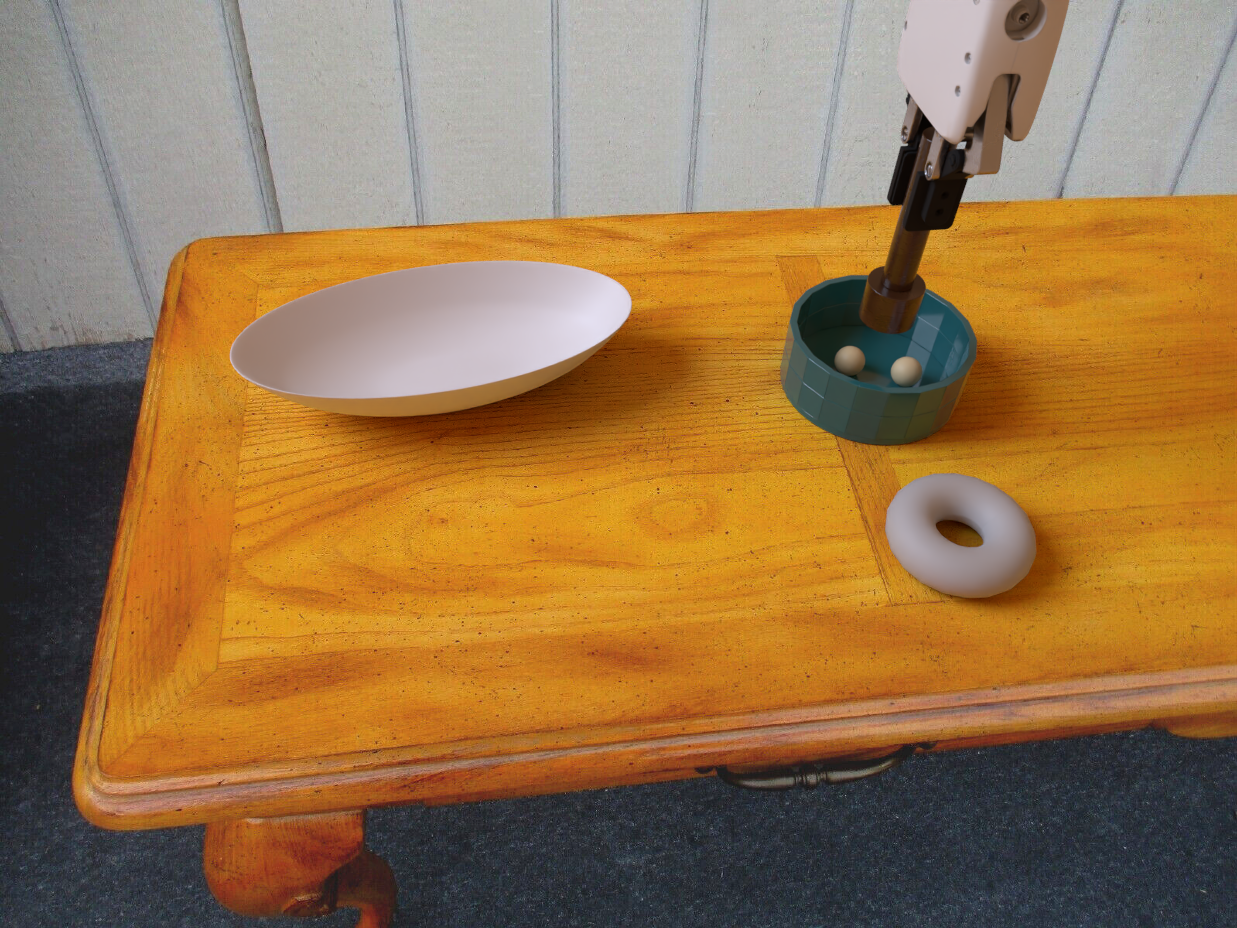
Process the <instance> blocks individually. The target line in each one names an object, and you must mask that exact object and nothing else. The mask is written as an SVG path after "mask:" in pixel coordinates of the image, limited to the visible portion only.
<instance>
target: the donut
mask: <svg viewBox="0 0 1237 928" xmlns="http://www.w3.org/2000/svg"><path fill="white" fill-rule="evenodd" d="M942 521H954V522H959V523H962V524H964V525H966V526H969V527H970V528H972V530H974V531H976V533H977V534H978V535H979V537H980V538H981V539H982V544H981V545H979V546H964V545H959V544H956V543H955V542H953V541H950V540H949V539H948V538H946V537H945V536H943V535H942V533H941V532H940V531H939V529H938V528H937V526H936V525H937V524H938V523H939V522H942ZM884 532H885V535H886V538H887V542H888V545H889V548H890V551H891V553H892V555H893V556H894V557H895V558H896V560H897V561H898V562H899V564H900V565H901V567H902V568H903V569H904V570H905V571H906V572H907V573H908V574H910V576H912V577H913V578H915V579H916V580H917V581H919V582H920V583H921V584H923V585H925V586H926V587H929V588H931V589H933V590H935V591H937V592H940V593H942V594H944V595H945V594H946V595H950V596H955V597H959V598H963V599H977V598H978V599H980V598H982V599H983V598H989V597H994V596H996V595H998V594H1002V593H1005V592H1008V591H1010V590H1012V589H1013V588H1014V587H1015V586H1016V585H1018V584H1019V583H1020V582H1021V581H1023V579H1025V578H1026V577H1027V576H1028V575H1029V573H1030V570H1031V568H1032V566H1033V564H1034V561H1035V559H1036V555H1037V536H1036V532H1035V529H1034V527H1033V524H1032V522H1031V520H1030V518H1029V516H1028V513H1027V512H1026V511H1025V510H1024V509H1023V508H1022V507H1021V505H1019V503H1018V502H1017V501H1016V500H1015V499H1014V497H1012V496H1010V495H1009V494H1008V493H1007V492H1005V491H1004V490H1002V489H1000V488H999V487H998V486H997V485H994V484H992V483H990V482H988V481H985V480H983V479H981V478H979V477H975V476H970V475H964V474H961V473H955V472H947V473H932V474H928V475H924V476H921V477H918V478H915V479H913V480H912V481H910V482H909V483H907V484H906V485H904V486H903V487H902V488H901V489H899V490H898V491H896V494H895V495H894V497H893V499H892V500H891V502H890V504H889V506H888V507H887V509H886V517H885V528H884Z"/></svg>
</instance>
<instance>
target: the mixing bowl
mask: <svg viewBox="0 0 1237 928" xmlns="http://www.w3.org/2000/svg"><path fill="white" fill-rule="evenodd" d="M868 275H869V274H849V275H843V276H840V277H834V278H830V279H826V280H823V281H821V282H820V283H818V284H816V285H813V286H812V287H809V288H808V289H807V290H805V291H804V292H803V293H802V294H801V296H800V297H799V298H798V299H797V300H796V301H795V302H794V304H793V306H792V309H791V312H790V313H791V314H790V316H789V317H790V318H789V322H788V327H787V332H786V337H785V340H784V345H783V350H782V351H783V352H782V356H781V361H780V367H779V369H780V371H779V376H780V377H779V378H780V383H781V387H782V390H783V392H784V394H785V396H786V398H787V399H788V401H789V402H790V404H791V405H792V406H793V407H794V409H795V410H796V411H797V412H798V413H799V414H800V415H801V416H803V417H804V418H805V419H806V420H807V421H809V422H810V423H811V424H813V425H814V426H816V427H817V428H819V429H822V430H823V431H825V432H828V433H830V434H832V435H834V436H836V437H839V438H843V439H844V440H848V441H852V442H857V443H861V444H868V445H876V446H898V445H904V444H910V443H914V442H918V441H920V440H923V439H925V438H929V437H930V436H932V435H934V434H936V433H937V432H939V431H940V430H941V429H943V428H944V426H946V424H948V422H950V420H951V418H952V416H953V414H954V412H955V411H956V409H957V408H958V407H957V406H959V402H960V401H961V397H962V395H963V393H964V391H965V388H966V385H967V383H968V380H969V378H970V376H971V373H972V370H973V368H974V365H975V364H976V363H975V362H976V360H977V354H978V338H977V336H976V334H975V332H974V330H973V327H972V325H971V322H970V321H969V320H968V318H967V317H966V316H965V315H964V314H963V313H962V312H961V311H960V310H959V309H958V308H957V306H955V305H954V304H953V303H952V302H950V301H949V300H947V299H946V298H944V297H942V296H941V295H940V294H938V293H936V292H935V291H934V290H933V291H932V290H931V289H929V288H926V291H925V294H924V297H923V300H922V303H921V306H920V309H919V312H918V315H917V318H916V321H915V324H914V326H913V327H912V328H911V329H910V330H908V331H906V332H904V333H900V334H886V333H881V332H878V331H875V330H873V329H871V328H869V327H868V326H867V325H865V324H864V323H863V321H862V320H861V319H860V316H859V308H860V304H861V301H862V297H863V293H864V290H865V286H866V282H867V279H868ZM846 346H855V347H857V348H859V349H860V350H861V351H862V352H863V354H864V356H865V365H864V367H863V369H862V370H861V371H860V372H859V373H858V374H856V375H853V376H846V375H844V374H841V373H840V372H839V371H838V370H837V369H836V366H835V356H836V354H837V352H838V351H839V350H840V349H842V348H843V347H846ZM902 357H912V358H914V359H916V360H917V361H918V362H919V363H920V365H921V367H922V376H921V378H920V380H919V381H918V382H917V383H916V384H915V385H913V386H909V387H903V386H900V385H898V384H896V383H895V382H894V381H893V379H892V377H891V368H892V365H893V364H894V362H895V361H896V360H898V359H899V358H902Z"/></svg>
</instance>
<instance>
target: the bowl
mask: <svg viewBox="0 0 1237 928" xmlns="http://www.w3.org/2000/svg"><path fill="white" fill-rule="evenodd" d="M632 308H633V300H632V297H631V294H630V293H629V291H628V289H627V288H625V286H624V285H622V284H621V283H620V282H618V281H616V280H615V279H613V278H611V277H610V276H607V275H606V274H603V273H600V272H598V271H595V270H590V269H587V268H583V267H579V266H574V265H568V264H562V263H556V262H545V261H535V260H534V261H533V260H532V261H531V260H478V261H477V260H476V261H463V262H453V263H452V262H451V263H450V262H449V263H441V264H433V265H425V266H418V267H411V268H405V269H399V270H393V271H388V272H383V273H378V274H374V275H369V276H365V277H361V278H358V279H353V280H350V281H346V282H343V283H339V284H335V285H333V286H332V285H331V286H329V287H326V288H323V289H320V290H317V291H314V292H310V293H309V294H306V295H303V296H300V297H298V298H296V299H293V300H290V301H288V302H286V303H285V304H282V305H280V306H278V307H276V308H274V309H271V310H270V311H269V312H267V313H265V314H263V315H261V316H260V317H259V318H257V319H256V320H254V321H252V323H249V325H247V326H246V327H245V328H244V329H243V330H242V331H241V332H240V333H239V335H237V337H236V338H235V340H234V341H233V342H232V344H231V347H230V351H229V360H230V363H231V365H232V367H233V369H234V370H235V371H236V372H237V373H238V374H239V376H240V377H242V378H243V379H245V381H248V382H249V383H251V384H252V385H255V386H256V387H258V388H260V389H262V390H264V391H266V392H268V393H270V394H272V395H275V396H277V397H279V398H282V399H283V400H286V401H289V402H292V403H295V404H298V405H301V406H304V407H306V408H311V409H314V410H319V411H321V412H322V411H323V412H329V413H333V414H339V415H349V416H360V417H382V418H383V417H387V418H389V417H395V418H396V417H414V416H415V417H416V416H430V415H439V414H447V413H453V412H454V413H455V412H459V411H460V412H461V411H464V410H469V409H473V408H477V407H482V406H486V405H489V404H493V403H497V402H500V401H503V400H506V399H509V398H513V397H517V396H518V395H521V394H524V393H526V392H529V391H531V390H534V389H537V388H539V387H541V386H544V385H546V384H549V383H551V382H553V381H555V380H556V379H559V378H560V377H562V376H564V375H566V374H568V373H569V372H572V371H573V370H575V369H576V368H577V367H578V366H580V365H582V364H583V363H584V362H586V361H587V360H588V359H589V358H591V357H592V356H593V355H594V354H596V353H598V351H599V350H600V349H602V347H605V345H606V344H607V343H608V342H609V341H610V340H611V339H612V338H613V337H614V336H615V335H616V334H617V333H618V332H619V330H621V329H622V327H623V326H624V325H625V323H626V322H627V320H628V319H629V317H630V315H631V312H632Z"/></svg>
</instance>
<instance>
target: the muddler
mask: <svg viewBox="0 0 1237 928" xmlns="http://www.w3.org/2000/svg"><path fill="white" fill-rule="evenodd" d="M934 133H935V128H934V127H929V128H927V129H925V130H924V131H923V134H922V137H921V141H920V144H919V148H918V151H917V155H916V158H915V162H914V165H913V169H912V172H911V176H910V179H909V183H908V186H907V190H906V193H905V197H904V200H903V204H902V205H901V207H900V211H899V215H898V217H897V218H898V219H897V221H896V225H895V229H894V233H893V236H892V240H891V242H890V246H889V249H888V253H887V256H886V260H885V264H884V265H882V266H878V267H876V268H874V269H872V270H871V271H870V272H869V273H868V274H867V275H868V279H867V282H866V286H865V290H864V293H863V297H862V301H861V304H860V308H859V316H860V319H861V320H862V321H863V323H864V324H865V325H867V326H868V327H869V328H871V329H873V330H875V331H878V332H881V333H886V334H900V333H904V332H906V331H908V330H910V329H911V328H912V327H913V326H914V324H915V321H916V318H917V315H918V312H919V309H920V306H921V303H922V300H923V297H924V294H925V291H926V289H927V285H926V282H925V280H924V278H923V277H922V276H921V275H920V274H918V272H919V268H920V265H921V262H922V258H923V256H924V252H925V249H926V246H927V243H928V240H929V236H930V234H931V230H928V231H911V232H909V231H906V230H905V228H904V226H903V224H902V222H903V219H904V215H905V212H906V208H907V205H908V201H909V198H910V195H911V191H912V188H913V184H914V181H915V177H916V174H917V171H925V165H926V161H927V157H928V154H929V150H930V147H931V143H932V140H933V136H934ZM958 145H959V144H951V143H950V145H949V148H948V152H947V153H949V152H950V151H952V150H954V149H958Z"/></svg>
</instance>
